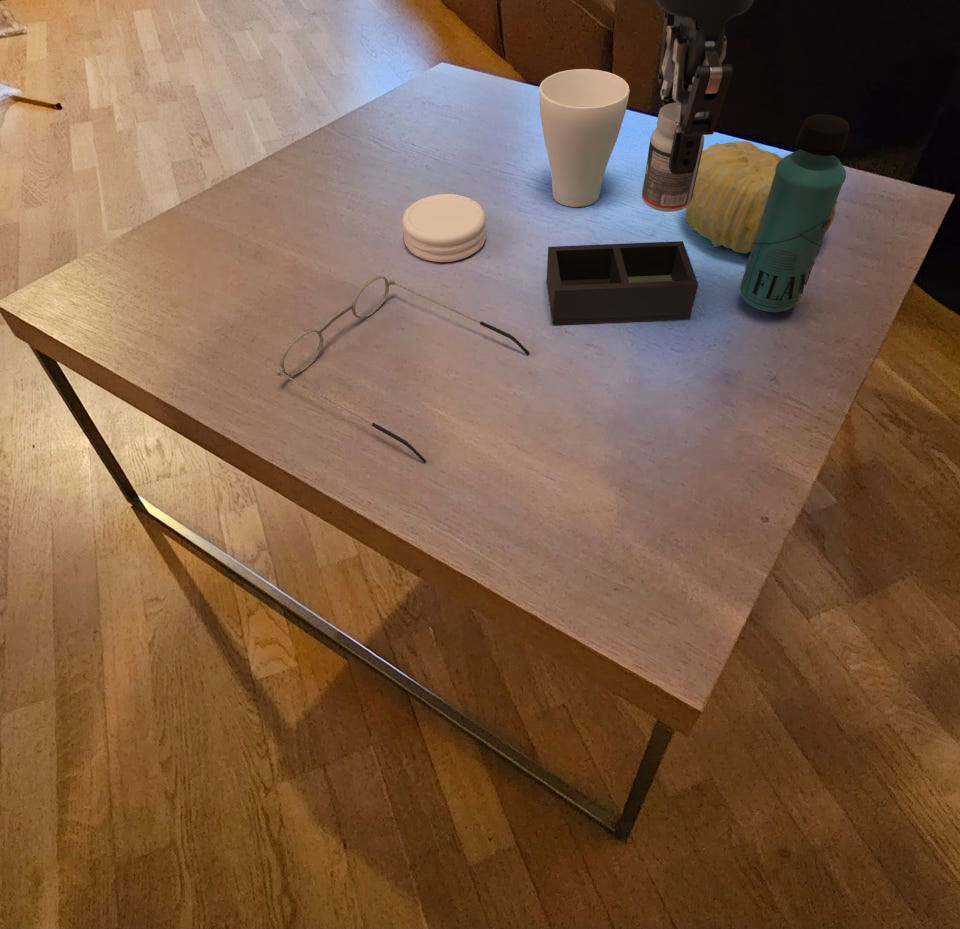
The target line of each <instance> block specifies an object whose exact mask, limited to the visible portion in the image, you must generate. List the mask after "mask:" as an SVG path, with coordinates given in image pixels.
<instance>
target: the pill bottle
mask: <svg viewBox="0 0 960 929" xmlns="http://www.w3.org/2000/svg"><path fill="white" fill-rule="evenodd" d="M676 115H677V103H670V104H667V105H665V106H663V107H662V106H661V107H660V109H659V110H658V115H657V119H656V127H655V129H653V131H652V132H651V136H650V141H649V146H648V152H647V159H646V166H645V172H644V180H643V184H642V185H643V186H642V191H641V199H642V201H643V203H644V205H646V206H648V207H649V208H651V209H653V210H656V211H658V212H664V213H665V212H666V213H672V212H679V211H682V210H683V209H684V210H685V209H686V207H687V206H688V205H689V204H690V203H691V201H692V197H693V192H694V188H695V183H696V178H697V173H698V169H699V164H700V159H701V155H702V151H703V150H704V145H705V135H702V138H701V143H700V148H699V152H698V157H697V162H696V167H695V170H694V171H693V172H692V173H689V174H672V173H671V172H670V169H669V161H670V155H671V150H672V144H673V139H674V133H675V122H676ZM699 115H700V112H699V113H697V114H696V115H695V117H699Z"/></svg>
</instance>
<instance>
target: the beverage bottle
mask: <svg viewBox="0 0 960 929" xmlns="http://www.w3.org/2000/svg"><path fill="white" fill-rule="evenodd" d="M849 132H850V123H849V122H848V121H847V120H846V119H844V118H842V117H840V116H838V115H833V114H825V113H820V114H819V113H817V114H812V115H810V116H808V117H806V118H805V119H804V121H803V123H802V125H801V128H800V131H799V133H798V134H797V137H796V140H795V144H796V146H797V147H798V150H796V151H793V152H792V153H789V154H787V155H786V156H784V157H782V158H783V159H781V160H780V161H779V162H778V164H777V166H776V169H775V175H774V178H773V182H772V185H771V188H770V192H769V195H768V199H767V202H766V205H765V209H764V212H763V215H762V219H761V222H760V225H759V229H758V232H757V236H756V238H755V241H754V243H752V244H753V246H751V247H752V250H751V249H750V250H751V251H750V252H749V256H748V258H746V259H747V260H746V262H745V263H746V265H745V266H744V271H743V273H742V276H741V277H742V278H741V280H740V285H739V290H740V296H741V299H742V300H743V301H744V302H745V303H746V304H747V305H748V306H750V307H752V308H755V309H756V310H759V311H763V312H768V313H781V312H785V311H788V310H790V309H792V308H793V307H795V305H796V304H797V303H798V302H799V301H800V299H801V298H802V295H804V289H805V287H806V286H807V284H808V282H809V281H808V280H809V279H810V276H811V274H812V273H811V272H812V270H813V267H814V265H815V262H816V260H817V258H818V256H817V255H818V254H819V253H820V250H821V248H820V247H822V244H821V243H822V241H823V240H824V238H825V234H826V232H828V230H829V228H827V226H828V225H829V224H830V223H829V221H830V220H831V219H832V217H833V215H831V214H833V211H834V210H833V209H835V208H834V206H835V204H836V203H837V204H838V201H837V200H838V198H839V195H840V192H841V189H842V187H843V185H844V183H845V181H846V179H847V171H846V169H845V166H844V165H843V164H842V162H841V161H840V159H839V158H838V157H837V155H839V154H840V153H842V152H843V151H844V150H845V148H846V145H847V138H848V136H849ZM836 201H837V202H836ZM831 216H832V217H831ZM830 217H831V219H830ZM830 222H831V221H830ZM828 223H829V224H828ZM826 228H827V229H828V230H826ZM825 230H826V232H825Z"/></svg>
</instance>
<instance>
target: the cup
mask: <svg viewBox="0 0 960 929" xmlns="http://www.w3.org/2000/svg"><path fill="white" fill-rule="evenodd" d="M538 91H539V92H538V94H539V114H540V121H541V127H542V135H543V141H544V145H545V148H546V152H547V153H546V154H547V158H548V163H549V167H550V175H551V185H552V186H551V187H552V188H551V189H552V197H553V199H554V200H555V201H556V202H557V203H558V204H561V205H562V206H566V207H570V208H582V207H588V206H590V205H592V204H594V203H596V202H597V201H598V200H599V198H600V193H601V190H602V184H603V179H604V175H605V172H606V170H607V167H608V164H609V160H610V157H611V156H612V153H613V150H614V148H615V146H616V143H617V141H618V140H617V139H618V137H619V136H620V131H621V128H622V125H623V122H624V119H625V115H626V112H627V107H628V102H629V97H630V92H631V90H630V85H629V84H628V82H627V81H626V80H625V79H624V78H623V77H621V76H619V75H617V74H614V73H611V72H609V71H605V70H599V69H592V68H591V69H590V68H575V69H567V70H562V71H559V72H555V73H553V74H551V75H549V76H547V77H545V78H544V79H543V80H542V81H541V83H540V84H539V87H538Z"/></svg>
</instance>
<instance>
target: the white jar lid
mask: <svg viewBox="0 0 960 929" xmlns="http://www.w3.org/2000/svg"><path fill="white" fill-rule="evenodd" d="M486 220H487V217H486V212H485V210H484V208H483V207H482V206H481V204H479V203H478V202H477V201H475V200H474V199H472V198H469V197H467V196H465V195H460V194H456V193H455V194H454V193H439V194H433V195H429V196H425V197H423V198H420V199H418V200H416V201H415V202H413V203H412V204H410V205H409V206H408V207H407V208H406V209H405V211H404V212H403V215H402V219H401V224H402V227H403V228H402V233H403V235H404V236H403V241H404V244H405V245H406V248H407V249H408V250H409V252H410V253H412V254H413V255H414V256H416V257H418V258H420V259H422V260H425V261H429V262H437V263H450V262H456V261H460V260H463V259H466V258H469V257H470V256H473V255H474V254H475V253H477V252H478V251H479V250H480V249H482V247H483V246H484V244H485V242H486V239H487V231H486V230H487V224H486Z"/></svg>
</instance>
